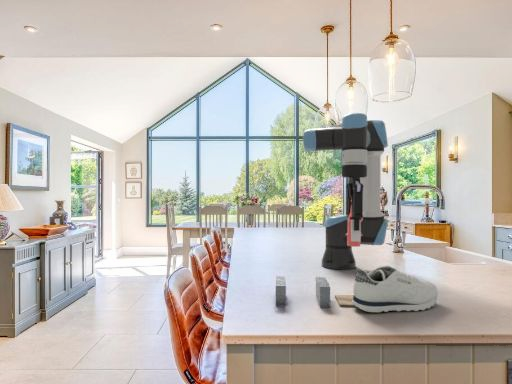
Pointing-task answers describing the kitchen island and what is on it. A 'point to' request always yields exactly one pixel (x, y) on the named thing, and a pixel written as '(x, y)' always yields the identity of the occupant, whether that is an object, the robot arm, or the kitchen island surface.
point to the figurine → (349, 242)
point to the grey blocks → (321, 291)
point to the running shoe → (392, 291)
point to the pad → (345, 300)
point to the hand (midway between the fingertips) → (353, 239)
